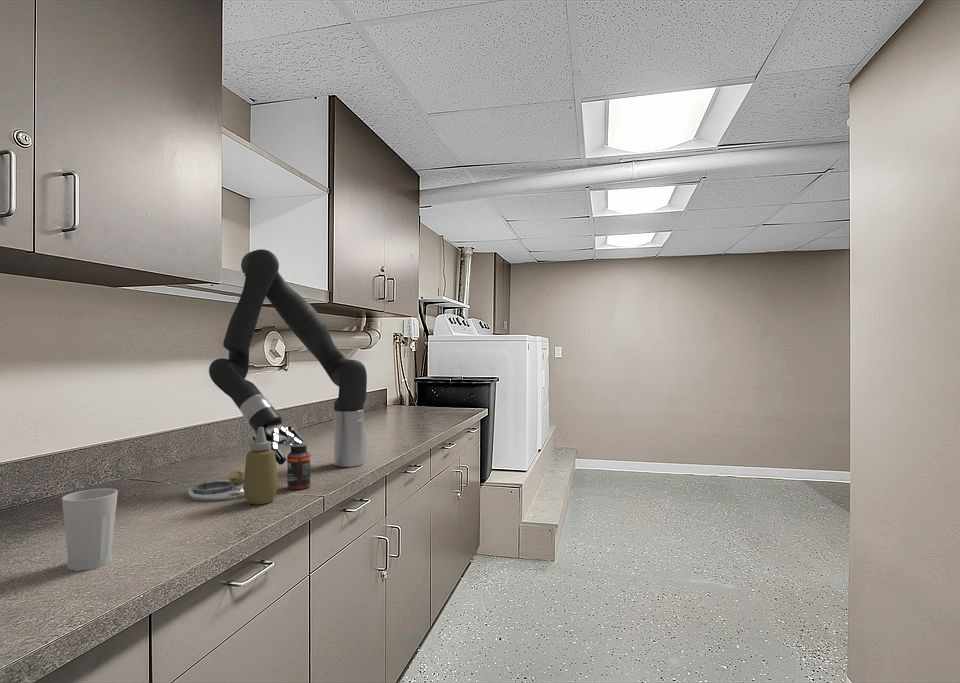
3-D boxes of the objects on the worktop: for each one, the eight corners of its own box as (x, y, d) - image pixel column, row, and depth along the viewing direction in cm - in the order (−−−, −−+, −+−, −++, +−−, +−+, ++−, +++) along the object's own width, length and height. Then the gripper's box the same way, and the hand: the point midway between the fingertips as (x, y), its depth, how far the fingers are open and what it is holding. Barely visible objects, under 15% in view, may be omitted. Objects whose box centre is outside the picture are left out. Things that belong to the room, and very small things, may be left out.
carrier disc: (223, 482, 154) (223, 466, 154) (270, 487, 148) (270, 470, 148) (173, 497, 139) (173, 479, 139) (222, 503, 133) (222, 485, 133)
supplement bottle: (314, 484, 151) (314, 443, 151) (305, 490, 145) (305, 447, 145) (293, 484, 151) (293, 442, 151) (283, 490, 145) (283, 446, 146)
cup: (100, 571, 93) (100, 500, 93) (50, 573, 92) (50, 501, 93) (127, 554, 101) (127, 487, 101) (80, 555, 100) (80, 489, 100)
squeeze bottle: (265, 495, 140) (265, 424, 140) (285, 500, 136) (285, 426, 136) (235, 503, 134) (235, 428, 134) (255, 508, 129) (255, 430, 129)
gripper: (248, 408, 145) (284, 455, 141) (286, 402, 159) (319, 445, 154) (233, 427, 147) (267, 474, 143) (271, 420, 160) (303, 463, 156)
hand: (294, 459), depth 149 cm, fingers open, 8 cm apart
